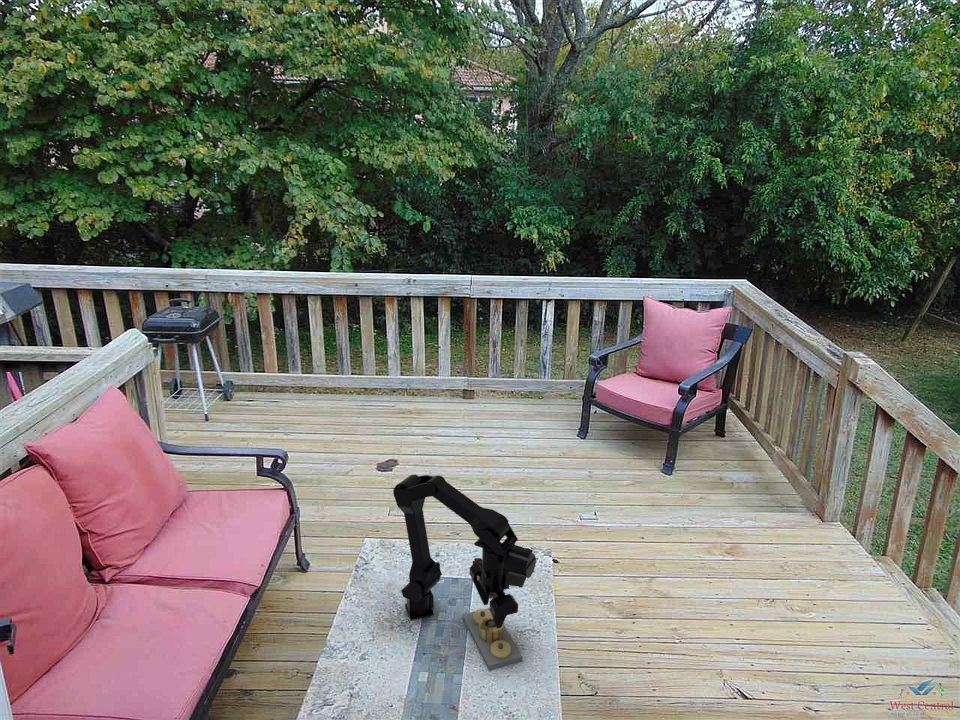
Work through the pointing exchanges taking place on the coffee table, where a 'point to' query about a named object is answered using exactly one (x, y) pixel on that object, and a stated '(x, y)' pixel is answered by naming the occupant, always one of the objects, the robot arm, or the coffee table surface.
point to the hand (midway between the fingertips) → (492, 615)
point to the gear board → (496, 652)
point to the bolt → (479, 560)
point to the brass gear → (489, 630)
